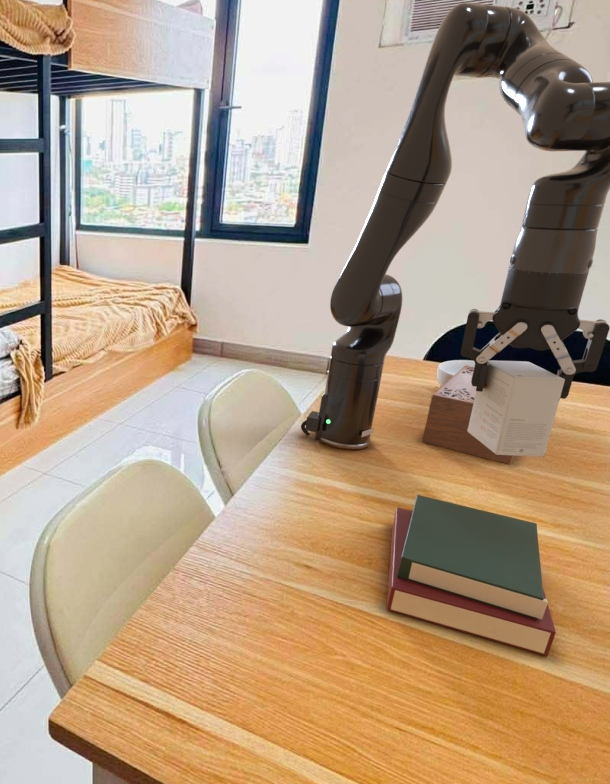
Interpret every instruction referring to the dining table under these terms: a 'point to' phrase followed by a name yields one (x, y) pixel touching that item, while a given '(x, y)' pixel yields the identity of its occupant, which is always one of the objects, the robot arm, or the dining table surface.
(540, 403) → the small box
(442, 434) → the tissue box cover
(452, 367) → the cereal bowl
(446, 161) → the robot arm
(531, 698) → the dining table surface
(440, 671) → the dining table surface
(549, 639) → the books
